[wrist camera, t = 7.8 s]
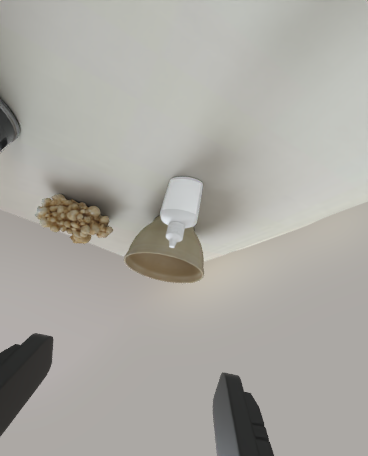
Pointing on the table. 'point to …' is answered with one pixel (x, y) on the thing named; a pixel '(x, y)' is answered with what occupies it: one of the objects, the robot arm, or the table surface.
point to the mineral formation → (73, 218)
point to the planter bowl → (166, 255)
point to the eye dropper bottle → (181, 207)
